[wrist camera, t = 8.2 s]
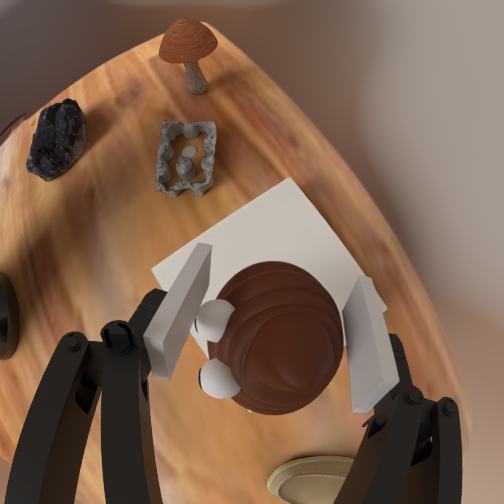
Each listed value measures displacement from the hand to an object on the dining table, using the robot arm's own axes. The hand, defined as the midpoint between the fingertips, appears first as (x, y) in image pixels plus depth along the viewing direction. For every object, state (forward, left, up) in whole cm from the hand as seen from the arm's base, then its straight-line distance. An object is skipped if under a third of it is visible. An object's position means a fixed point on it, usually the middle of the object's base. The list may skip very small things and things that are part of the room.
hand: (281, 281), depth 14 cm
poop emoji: (+3, -2, -4) cm, 5 cm away
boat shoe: (+29, -6, -17) cm, 35 cm away
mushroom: (-31, +10, -17) cm, 37 cm away
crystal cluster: (-39, -14, -17) cm, 45 cm away
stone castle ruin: (-20, +2, -17) cm, 26 cm away
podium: (0, +1, -17) cm, 17 cm away
